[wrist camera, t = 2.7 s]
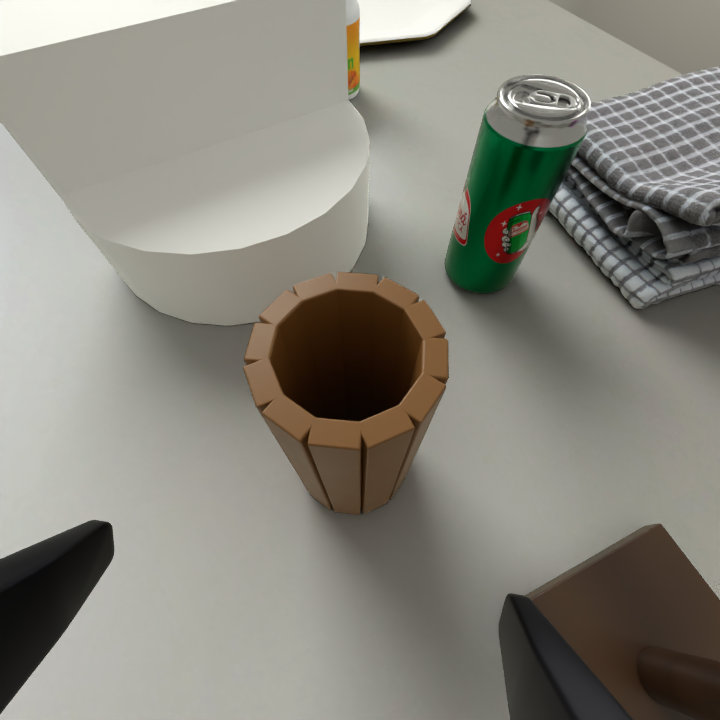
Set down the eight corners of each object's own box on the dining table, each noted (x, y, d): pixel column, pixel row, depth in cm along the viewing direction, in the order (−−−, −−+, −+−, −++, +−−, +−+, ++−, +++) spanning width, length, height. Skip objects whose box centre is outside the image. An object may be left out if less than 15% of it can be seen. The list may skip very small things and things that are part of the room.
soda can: (453, 239, 30) (502, 62, 20) (517, 258, 29) (604, 81, 19) (434, 285, 28) (478, 112, 18) (503, 307, 27) (593, 137, 17)
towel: (822, 254, 29) (962, 156, 23) (622, 317, 27) (714, 227, 20) (681, 143, 37) (755, 43, 30) (511, 183, 34) (549, 83, 27)
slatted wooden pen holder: (323, 533, 20) (283, 487, 9) (286, 432, 23) (222, 308, 12) (425, 485, 21) (489, 395, 11) (378, 393, 24) (392, 250, 13)
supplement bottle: (314, 107, 40) (302, -20, 31) (305, 81, 42) (292, -43, 34) (365, 101, 40) (366, -26, 32) (353, 75, 43) (352, -48, 34)
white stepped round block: (163, 375, 24) (-17, 191, 13) (89, 198, 33) (-60, -10, 21) (418, 252, 30) (454, 43, 18) (297, 126, 38) (270, -72, 26)
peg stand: (639, 872, 14) (789, 1031, 9) (500, 609, 18) (553, 621, 13) (805, 738, 16) (1004, 811, 11) (645, 525, 20) (739, 508, 15)
